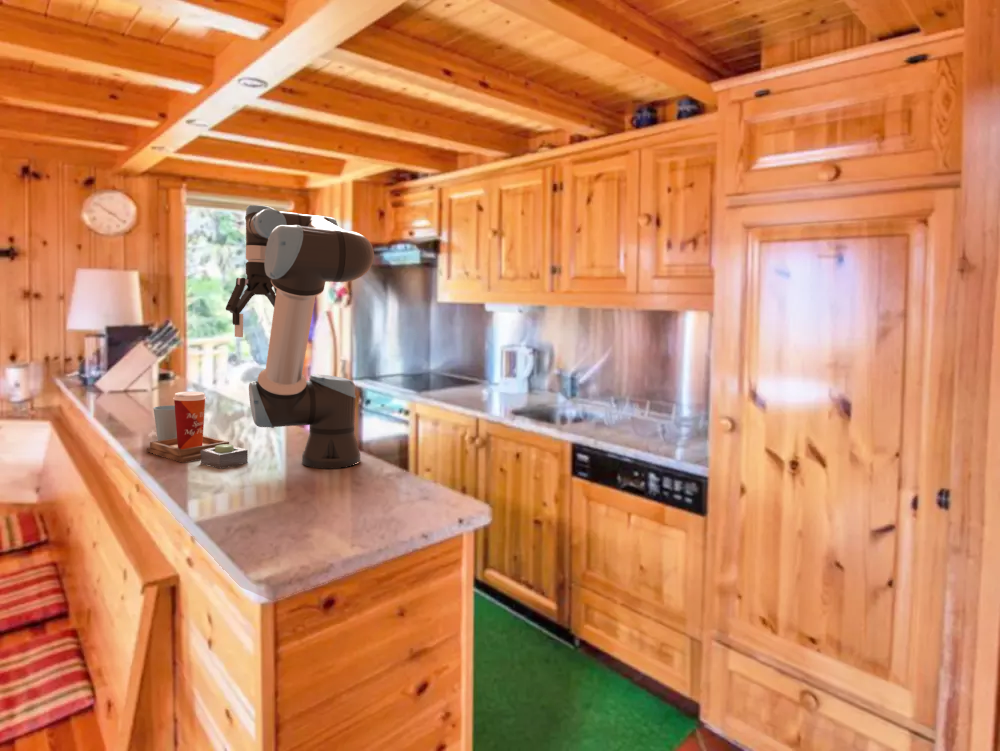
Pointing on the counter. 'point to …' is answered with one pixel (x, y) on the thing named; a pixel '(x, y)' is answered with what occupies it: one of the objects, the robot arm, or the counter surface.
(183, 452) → the wooden tray
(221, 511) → the counter surface
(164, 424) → the cup
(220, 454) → the button housing
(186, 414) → the coffee cup
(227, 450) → the button
